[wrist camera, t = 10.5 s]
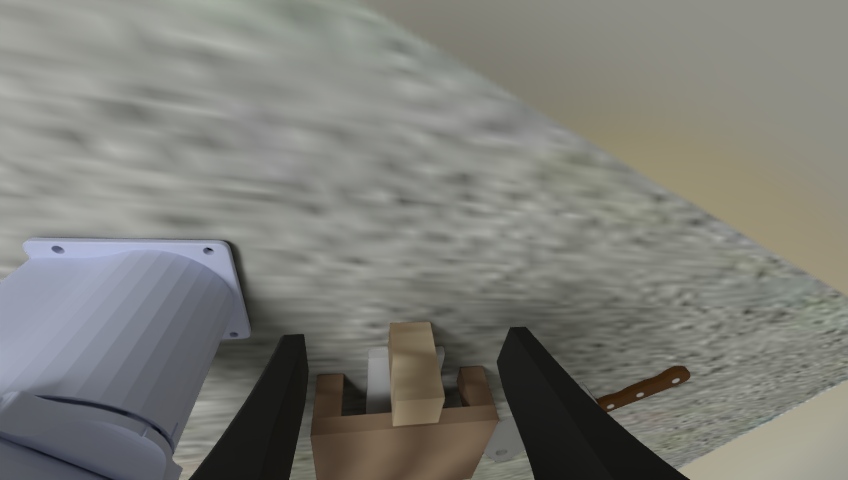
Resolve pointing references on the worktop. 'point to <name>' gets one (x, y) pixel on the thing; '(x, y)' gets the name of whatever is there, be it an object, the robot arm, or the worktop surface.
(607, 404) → the kitchen knife
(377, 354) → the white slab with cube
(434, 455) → the low shelf
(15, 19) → the worktop surface
